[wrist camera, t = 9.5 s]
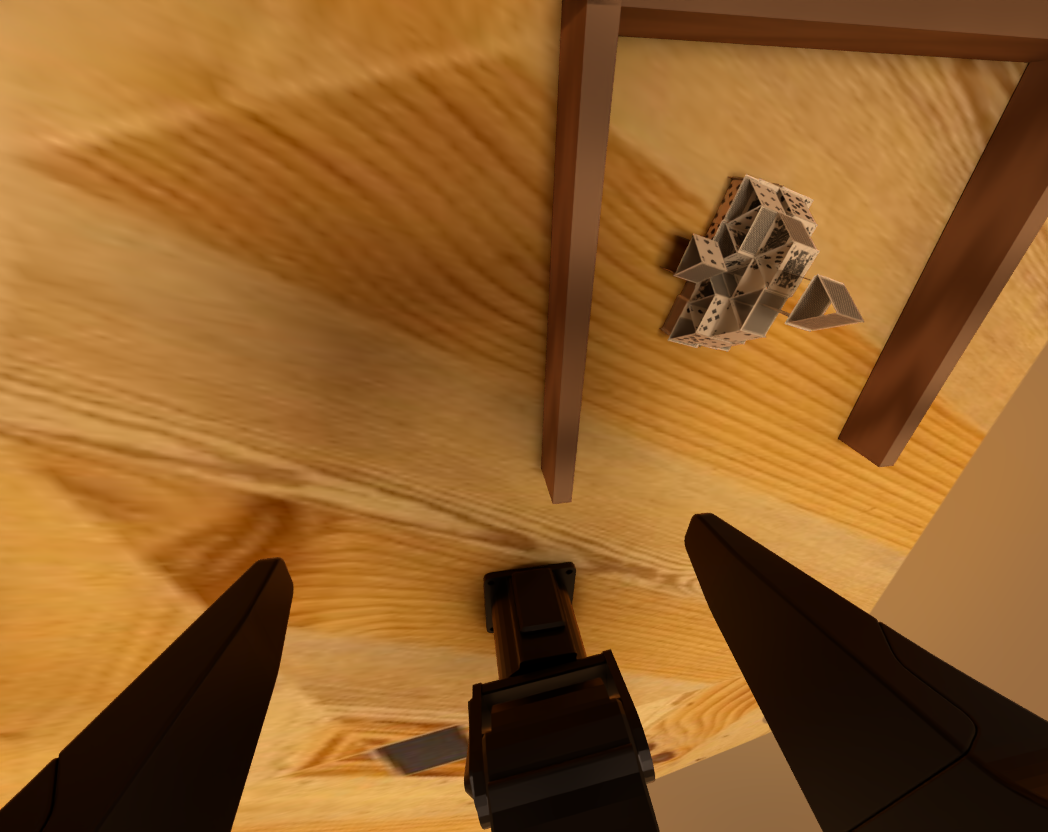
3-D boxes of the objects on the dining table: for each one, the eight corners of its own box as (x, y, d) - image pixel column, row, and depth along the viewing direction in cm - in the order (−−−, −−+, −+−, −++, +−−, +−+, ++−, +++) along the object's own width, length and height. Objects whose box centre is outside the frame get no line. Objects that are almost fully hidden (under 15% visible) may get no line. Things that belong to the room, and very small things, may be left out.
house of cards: (647, 75, 15) (798, 14, 9) (817, 156, 18) (1030, 155, 11) (566, 307, 19) (628, 379, 13) (713, 346, 22) (825, 423, 16)
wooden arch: (851, 437, 27) (893, 465, 25) (541, 468, 24) (552, 504, 21) (1066, 31, 17) (1177, 8, 14) (562, -9, 13) (590, -49, 11)
